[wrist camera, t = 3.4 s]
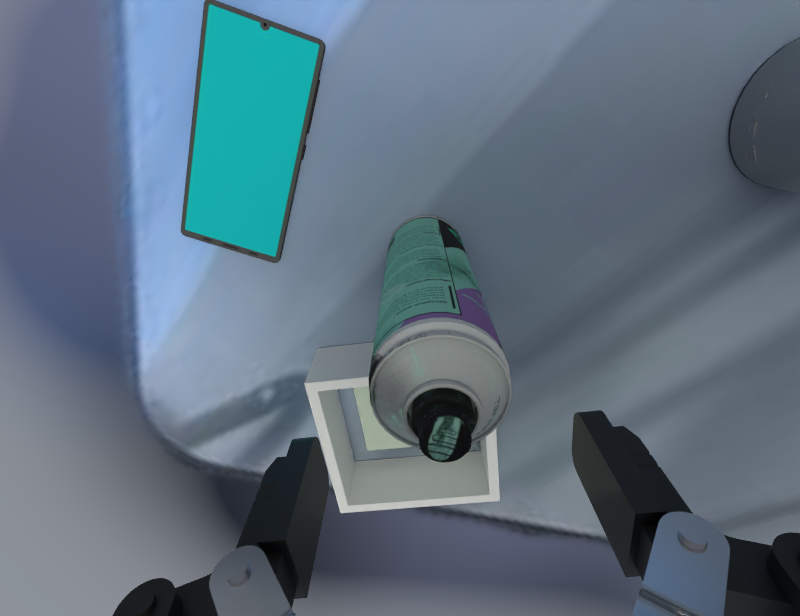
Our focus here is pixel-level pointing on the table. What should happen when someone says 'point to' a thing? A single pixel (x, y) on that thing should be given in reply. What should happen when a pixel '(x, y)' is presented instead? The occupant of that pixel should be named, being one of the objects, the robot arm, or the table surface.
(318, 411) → the white square tray
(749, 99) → the robot arm
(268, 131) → the smartphone
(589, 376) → the table surface
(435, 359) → the spray can
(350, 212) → the table surface
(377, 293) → the table surface
